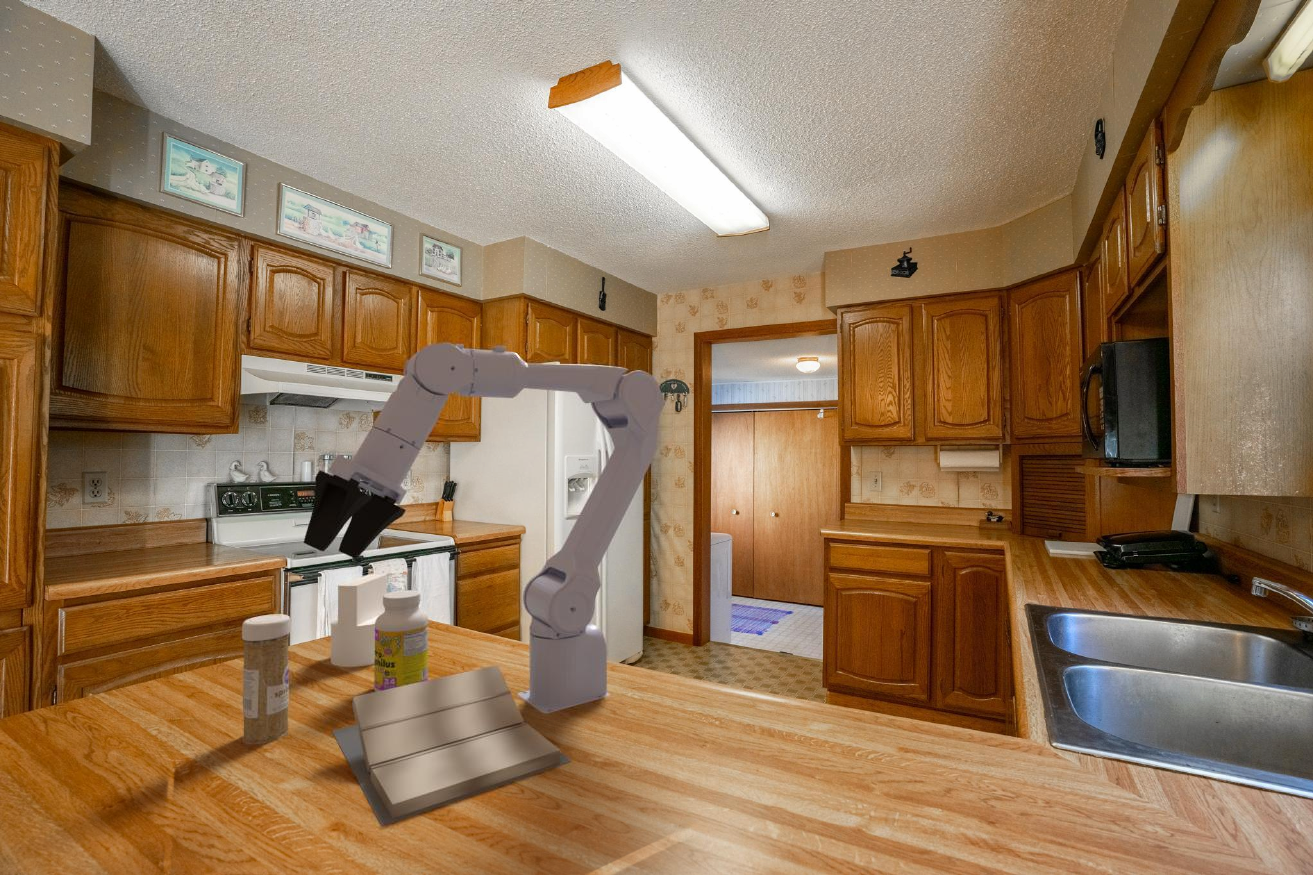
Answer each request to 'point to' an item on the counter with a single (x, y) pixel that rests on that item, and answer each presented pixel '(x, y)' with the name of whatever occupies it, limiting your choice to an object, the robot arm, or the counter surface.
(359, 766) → the plate
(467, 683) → the loose plank
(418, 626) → the supplement bottle
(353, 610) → the base with upright slab
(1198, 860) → the counter surface
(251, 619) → the sprinkles bottle
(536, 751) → the plank
